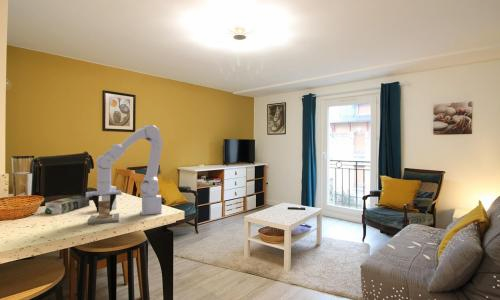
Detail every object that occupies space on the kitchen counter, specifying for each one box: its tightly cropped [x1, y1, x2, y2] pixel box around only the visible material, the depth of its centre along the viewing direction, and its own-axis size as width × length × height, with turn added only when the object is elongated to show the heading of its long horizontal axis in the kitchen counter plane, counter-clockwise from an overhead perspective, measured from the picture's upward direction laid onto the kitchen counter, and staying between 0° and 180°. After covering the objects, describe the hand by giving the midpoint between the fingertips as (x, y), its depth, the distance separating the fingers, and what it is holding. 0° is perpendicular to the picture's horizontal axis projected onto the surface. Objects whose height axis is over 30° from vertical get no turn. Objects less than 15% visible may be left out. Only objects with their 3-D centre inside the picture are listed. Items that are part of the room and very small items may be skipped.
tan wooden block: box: [98, 200, 111, 216], centre depth 130 cm, size 4×4×6 cm
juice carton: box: [44, 194, 90, 215], centre depth 148 cm, size 20×10×6 cm, turn 170°
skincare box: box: [101, 185, 117, 211], centre depth 150 cm, size 6×4×12 cm
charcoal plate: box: [87, 212, 120, 226], centre depth 130 cm, size 12×12×2 cm
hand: (104, 211), depth 130 cm, fingers closed on tan wooden block, 4 cm apart
